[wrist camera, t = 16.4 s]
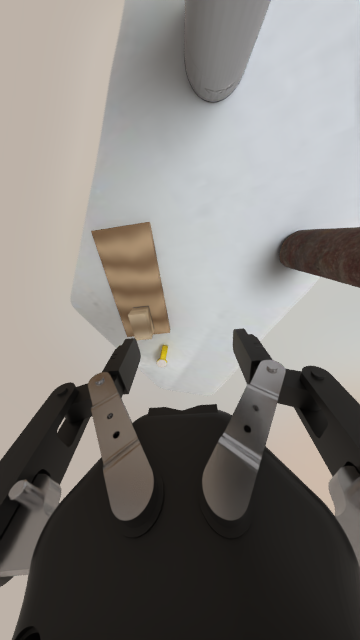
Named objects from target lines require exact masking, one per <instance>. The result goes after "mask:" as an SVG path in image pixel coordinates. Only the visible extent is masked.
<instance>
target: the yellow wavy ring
mask: <svg viewBox="0 0 360 640" xmlns="http://www.w3.org/2000/svg"><path fill="white" fill-rule="evenodd" d="M167 349H168V346H164V345H163V347H162V352H161V356H160V359H158V360H157V365H158V366H159V367H162V368H163V367H165V366H166V365H167V360H166V354H167Z"/></svg>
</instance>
